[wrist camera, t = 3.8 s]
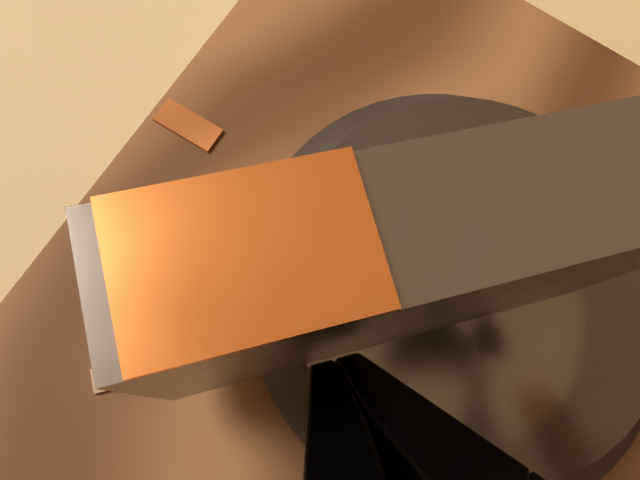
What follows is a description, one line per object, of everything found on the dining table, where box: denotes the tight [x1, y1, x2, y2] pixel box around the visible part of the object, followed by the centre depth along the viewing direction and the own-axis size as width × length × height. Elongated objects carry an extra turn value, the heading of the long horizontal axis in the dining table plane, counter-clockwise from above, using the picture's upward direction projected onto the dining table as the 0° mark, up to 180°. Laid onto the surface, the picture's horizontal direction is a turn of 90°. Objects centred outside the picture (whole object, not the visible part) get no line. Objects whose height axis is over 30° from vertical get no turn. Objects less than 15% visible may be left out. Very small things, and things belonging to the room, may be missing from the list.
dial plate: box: [0, 0, 640, 480], centre depth 16 cm, size 20×20×2 cm
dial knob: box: [65, 95, 640, 480], centre depth 11 cm, size 13×10×8 cm
